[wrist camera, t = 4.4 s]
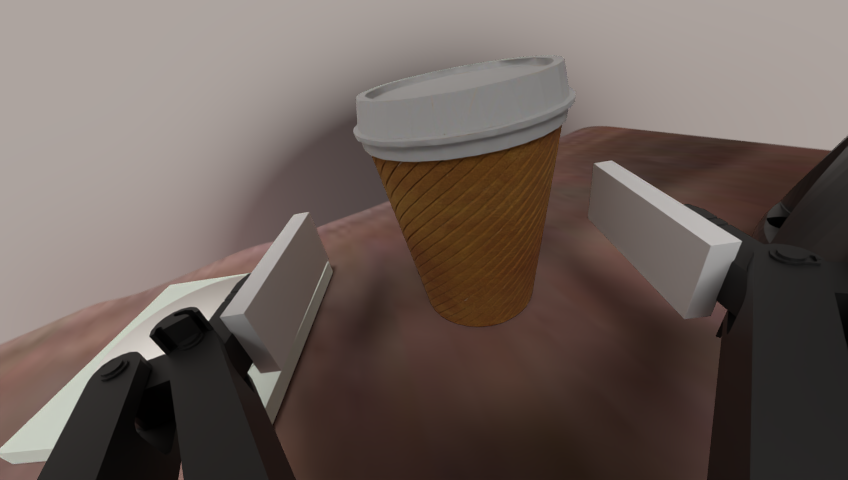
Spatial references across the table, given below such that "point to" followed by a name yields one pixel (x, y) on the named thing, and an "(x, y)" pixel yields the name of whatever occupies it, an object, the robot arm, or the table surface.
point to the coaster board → (207, 297)
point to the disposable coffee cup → (470, 176)
